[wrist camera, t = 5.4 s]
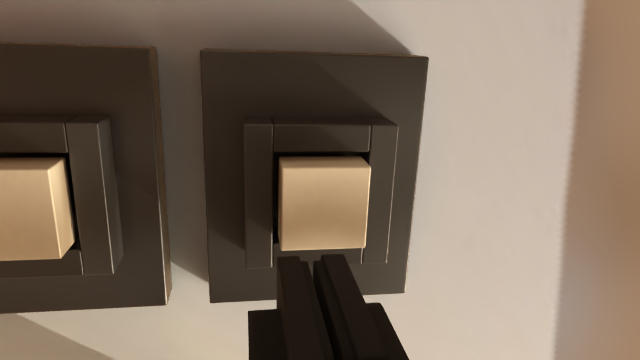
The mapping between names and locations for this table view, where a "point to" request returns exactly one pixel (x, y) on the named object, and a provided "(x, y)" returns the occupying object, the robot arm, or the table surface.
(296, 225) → the key
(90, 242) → the block
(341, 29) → the table surface
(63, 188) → the key
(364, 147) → the block
